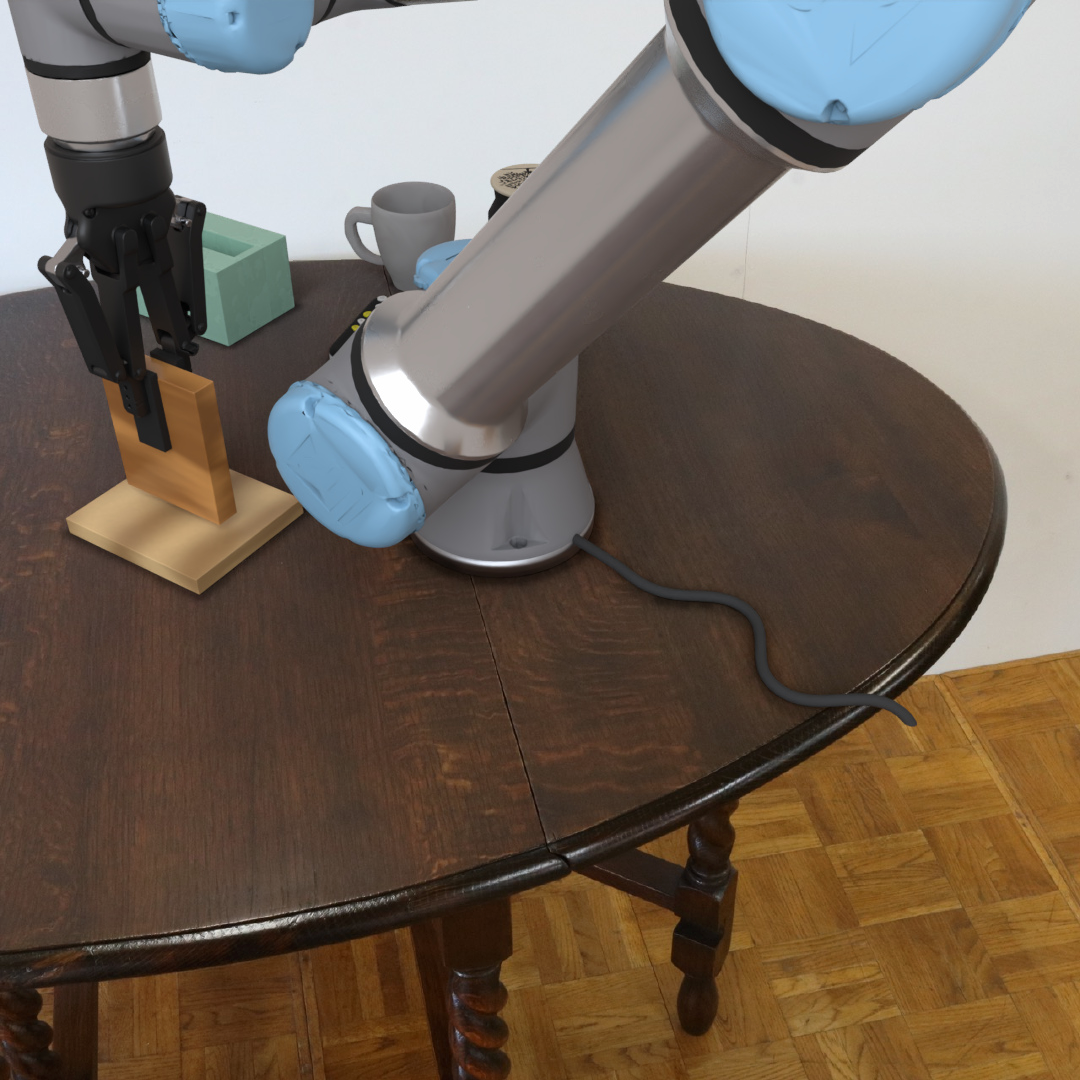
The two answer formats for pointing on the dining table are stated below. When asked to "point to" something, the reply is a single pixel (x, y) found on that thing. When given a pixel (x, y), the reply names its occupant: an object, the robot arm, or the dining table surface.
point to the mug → (404, 226)
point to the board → (184, 530)
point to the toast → (179, 445)
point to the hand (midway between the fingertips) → (168, 436)
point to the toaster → (241, 278)
